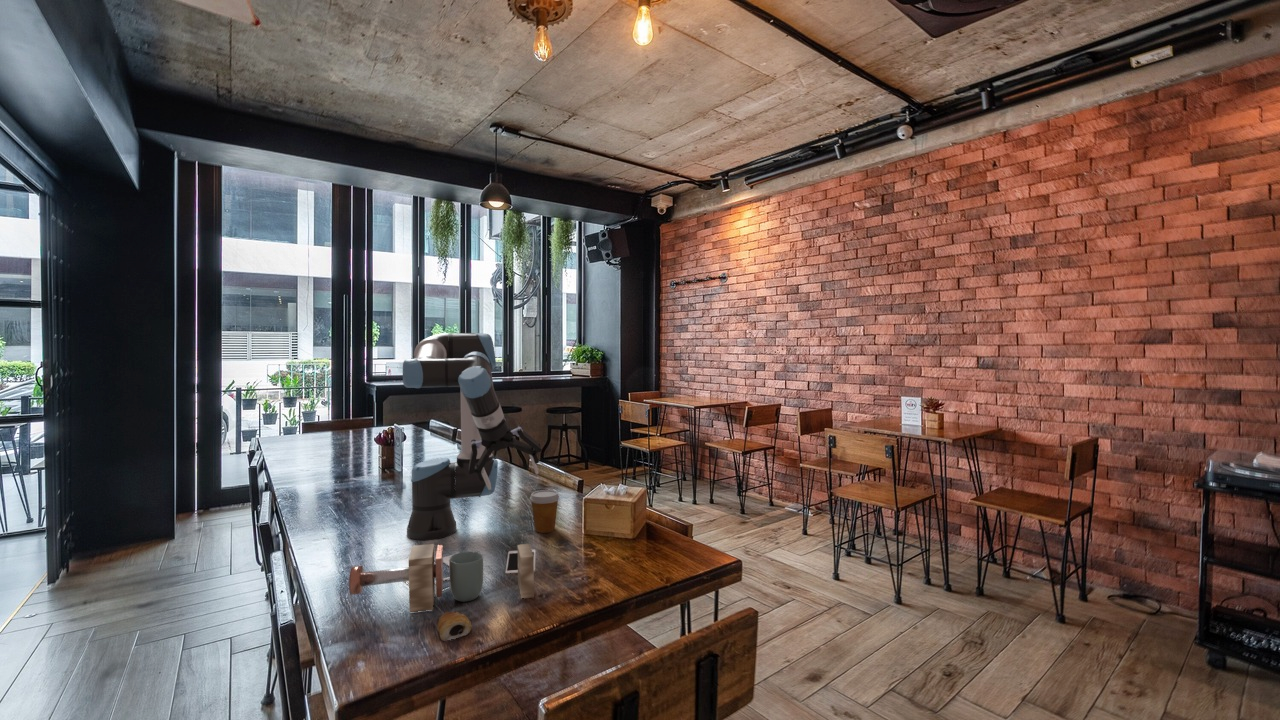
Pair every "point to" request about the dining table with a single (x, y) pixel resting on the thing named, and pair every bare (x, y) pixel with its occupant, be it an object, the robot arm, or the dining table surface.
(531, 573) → the end block
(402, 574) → the shaft
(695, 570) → the dining table surface
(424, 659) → the dining table surface
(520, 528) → the dining table surface
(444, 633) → the pastry
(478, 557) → the cup
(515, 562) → the cell phone
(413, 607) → the bearing block
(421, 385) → the robot arm
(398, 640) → the dining table surface
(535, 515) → the disposable coffee cup
